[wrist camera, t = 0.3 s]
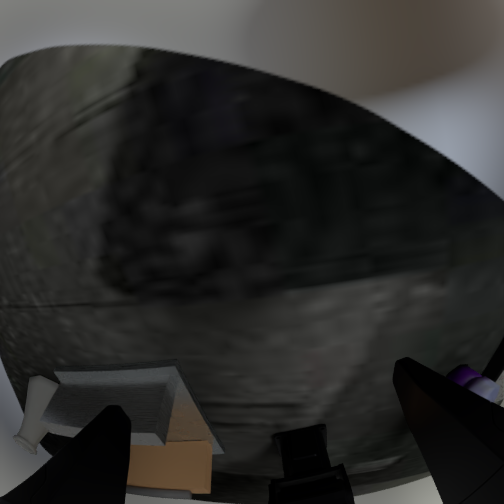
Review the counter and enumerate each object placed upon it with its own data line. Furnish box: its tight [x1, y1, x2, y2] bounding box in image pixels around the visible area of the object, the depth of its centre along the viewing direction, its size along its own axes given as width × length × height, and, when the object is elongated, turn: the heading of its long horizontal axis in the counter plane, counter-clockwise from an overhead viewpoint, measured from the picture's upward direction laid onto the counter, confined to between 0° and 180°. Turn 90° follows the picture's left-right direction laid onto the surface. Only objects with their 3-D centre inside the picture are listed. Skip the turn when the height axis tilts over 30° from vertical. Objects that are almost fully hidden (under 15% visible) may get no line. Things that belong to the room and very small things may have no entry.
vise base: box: [39, 359, 225, 454], centre depth 24 cm, size 17×16×8 cm
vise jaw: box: [126, 440, 212, 499], centre depth 25 cm, size 2×14×8 cm, turn 102°
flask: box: [13, 375, 59, 455], centre depth 22 cm, size 7×7×10 cm
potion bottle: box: [446, 364, 500, 402], centre depth 24 cm, size 9×9×12 cm
